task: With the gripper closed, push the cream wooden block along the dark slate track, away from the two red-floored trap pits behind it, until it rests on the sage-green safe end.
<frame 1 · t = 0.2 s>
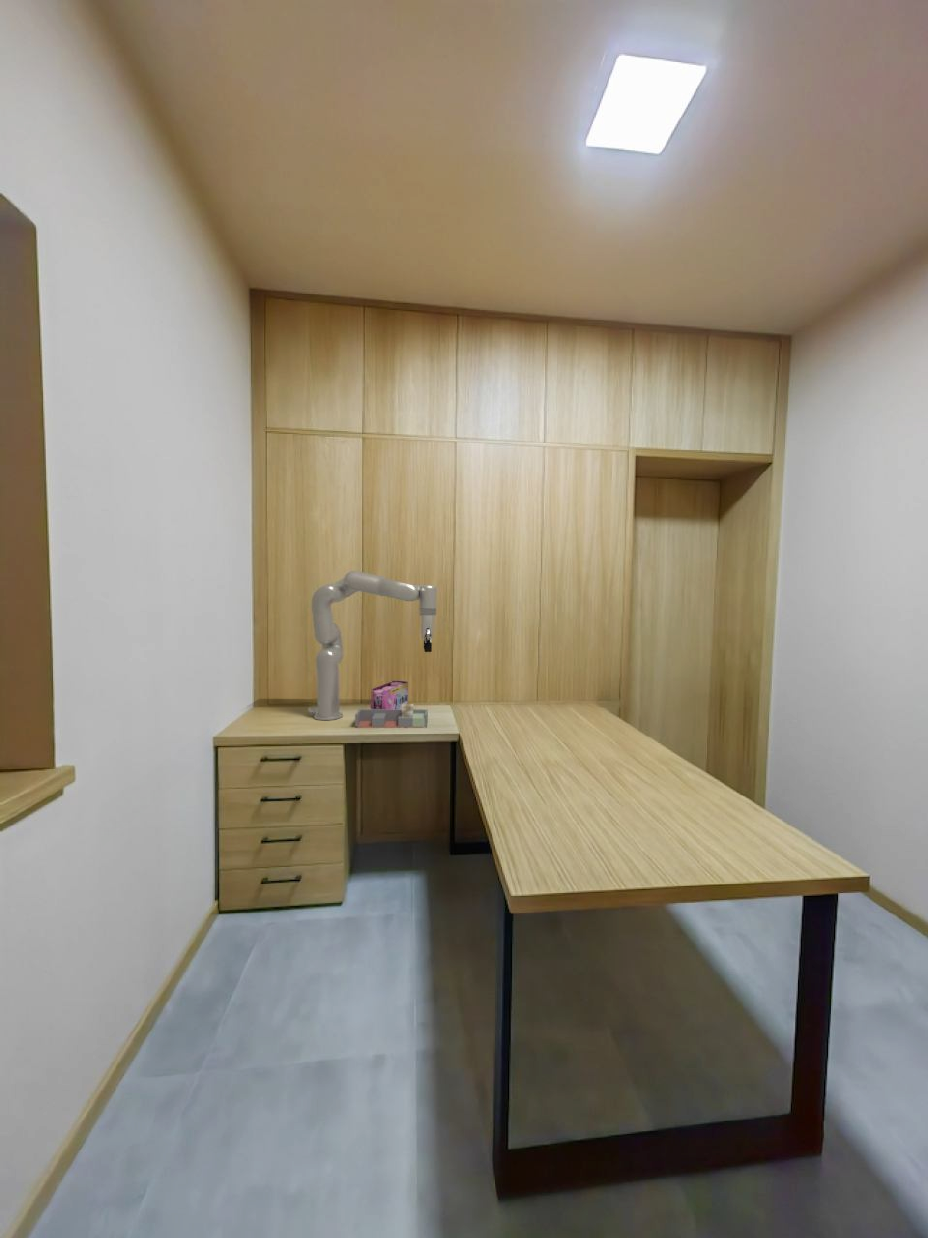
hand: (427, 650, 220), 31 cm above the table, tool pointing down, fingers open, 9 cm apart
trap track: (392, 724, 210), on the table
gum box: (390, 714, 228), on the table
cream block: (407, 715, 210), point 4 cm above the table, touching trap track
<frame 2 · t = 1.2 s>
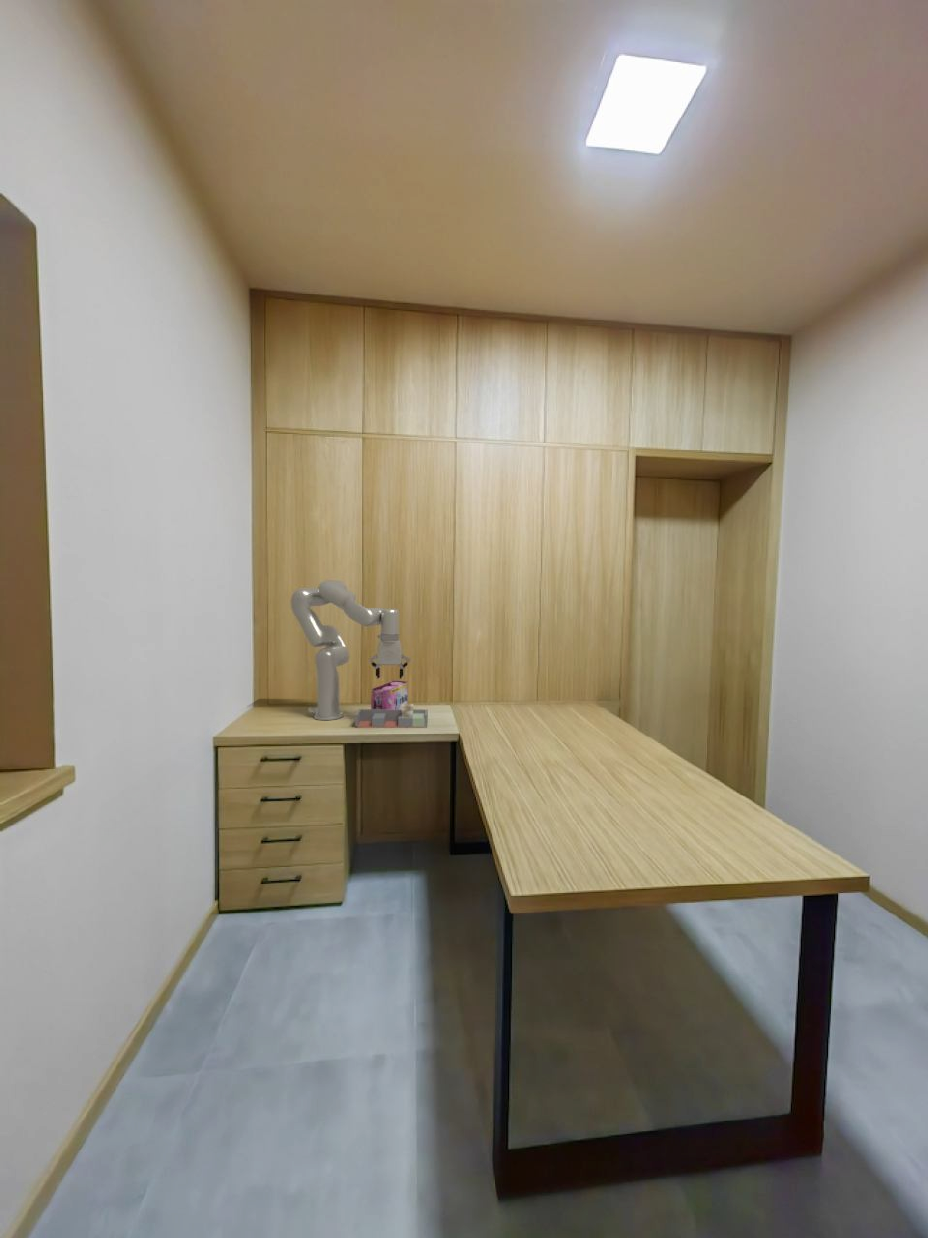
hand: (389, 677, 209), 20 cm above the table, tool pointing down, fingers open, 9 cm apart
nothing on the table moved.
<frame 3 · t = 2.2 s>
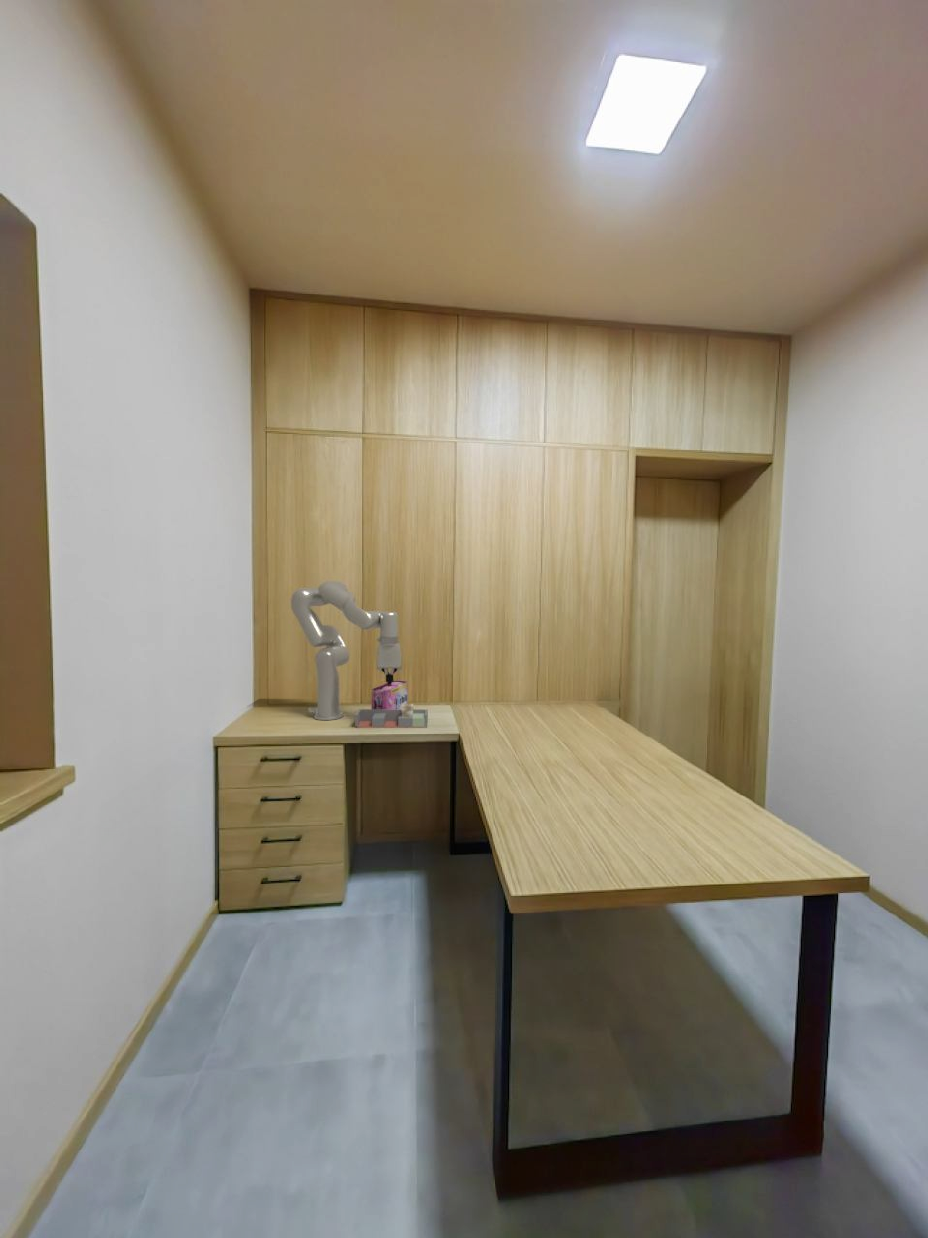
hand: (389, 683, 209), 18 cm above the table, tool pointing down, fingers closed
nothing on the table moved.
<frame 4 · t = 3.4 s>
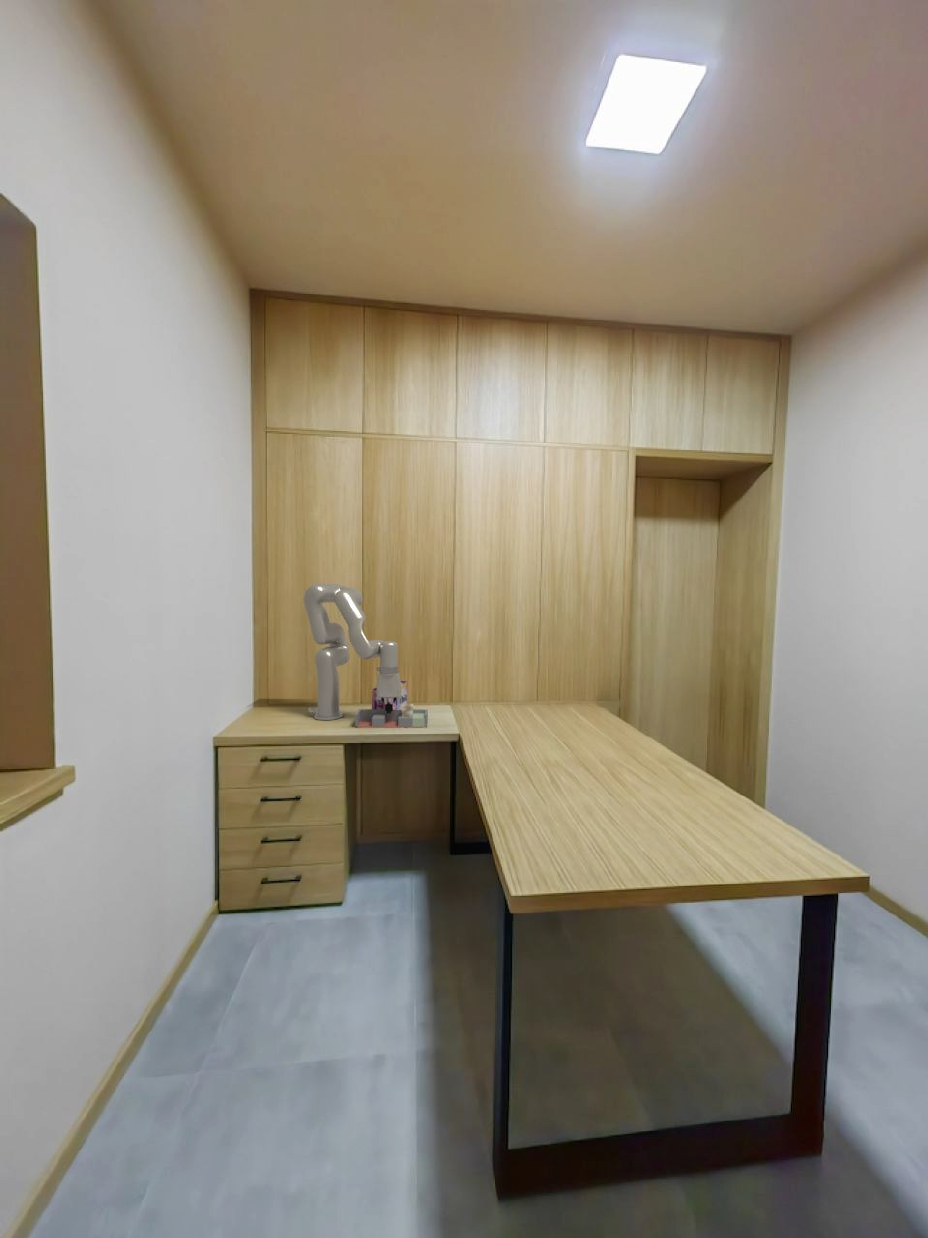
hand: (389, 712, 209), 5 cm above the table, tool pointing down, fingers closed
nothing on the table moved.
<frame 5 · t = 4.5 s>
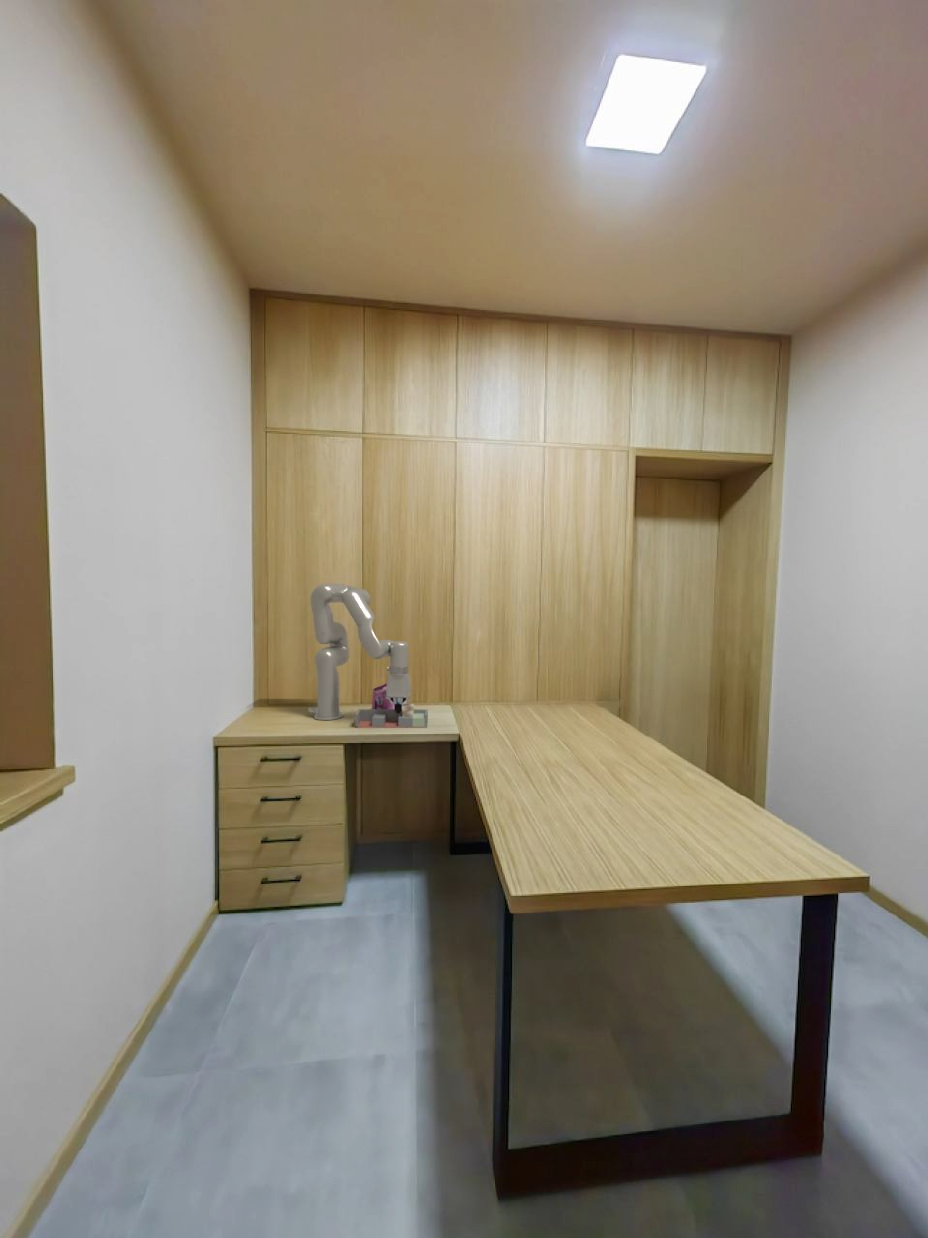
hand: (398, 712, 210), 5 cm above the table, tool pointing down, fingers closed
cream block: (408, 715, 210), point 4 cm above the table, touching gripper, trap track
everything else where it was.
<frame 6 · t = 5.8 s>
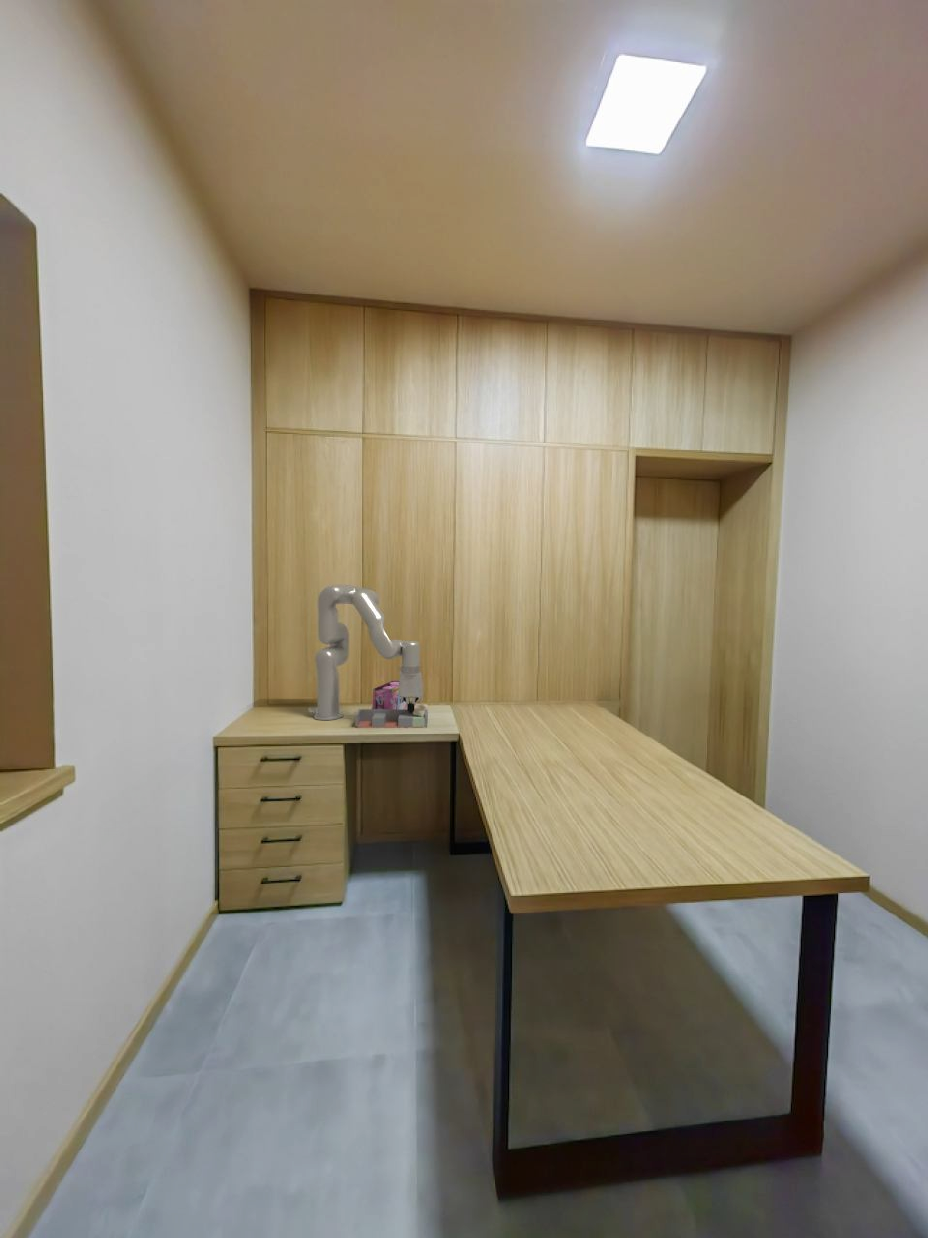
hand: (410, 712, 210), 5 cm above the table, tool pointing down, fingers closed
cream block: (418, 714, 210), point 5 cm above the table, tilted 19°, touching gripper, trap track
everything else where it was.
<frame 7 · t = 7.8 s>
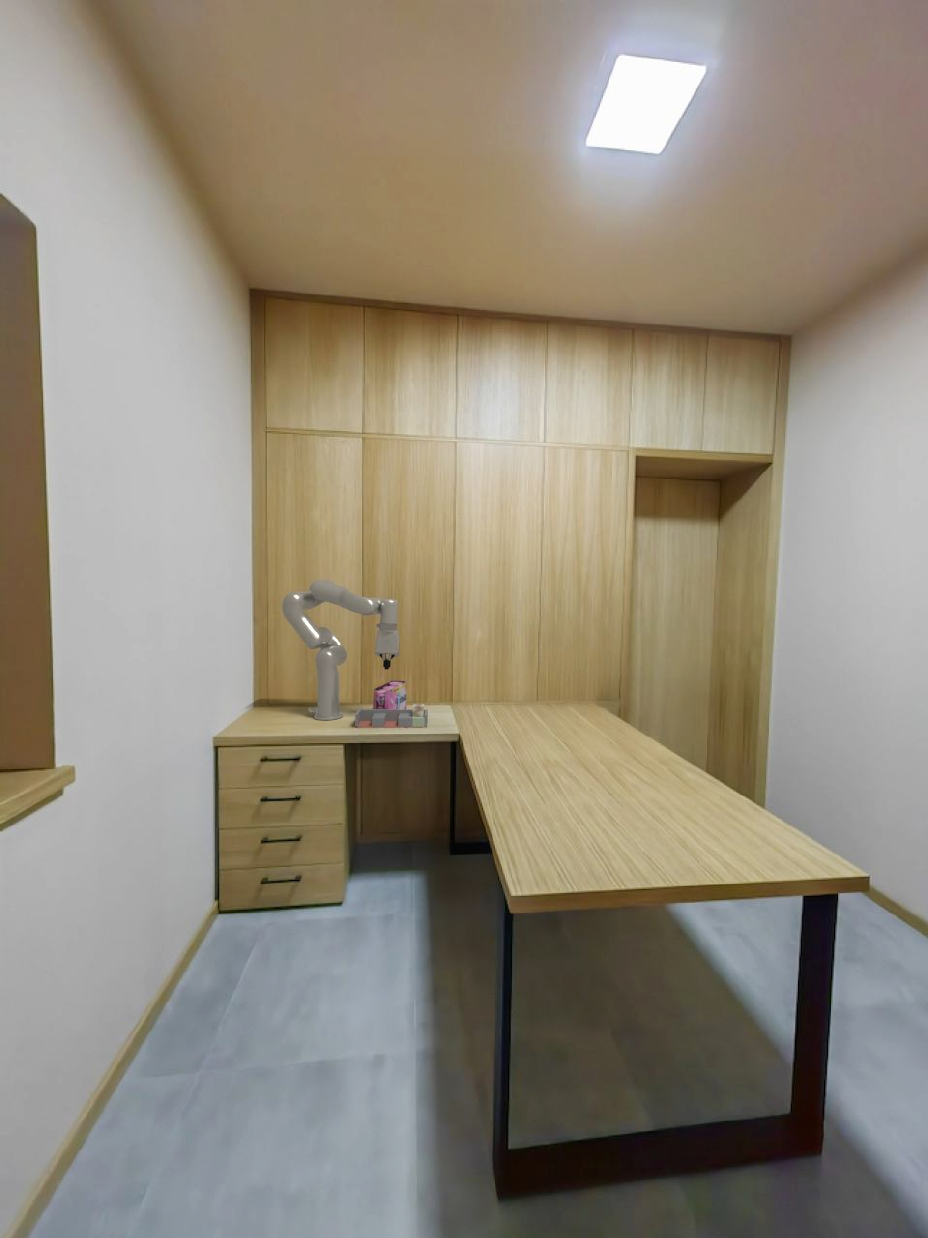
hand: (386, 669, 214), 23 cm above the table, tool pointing down, fingers closed
cream block: (418, 715, 210), point 4 cm above the table, touching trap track
everything else where it was.
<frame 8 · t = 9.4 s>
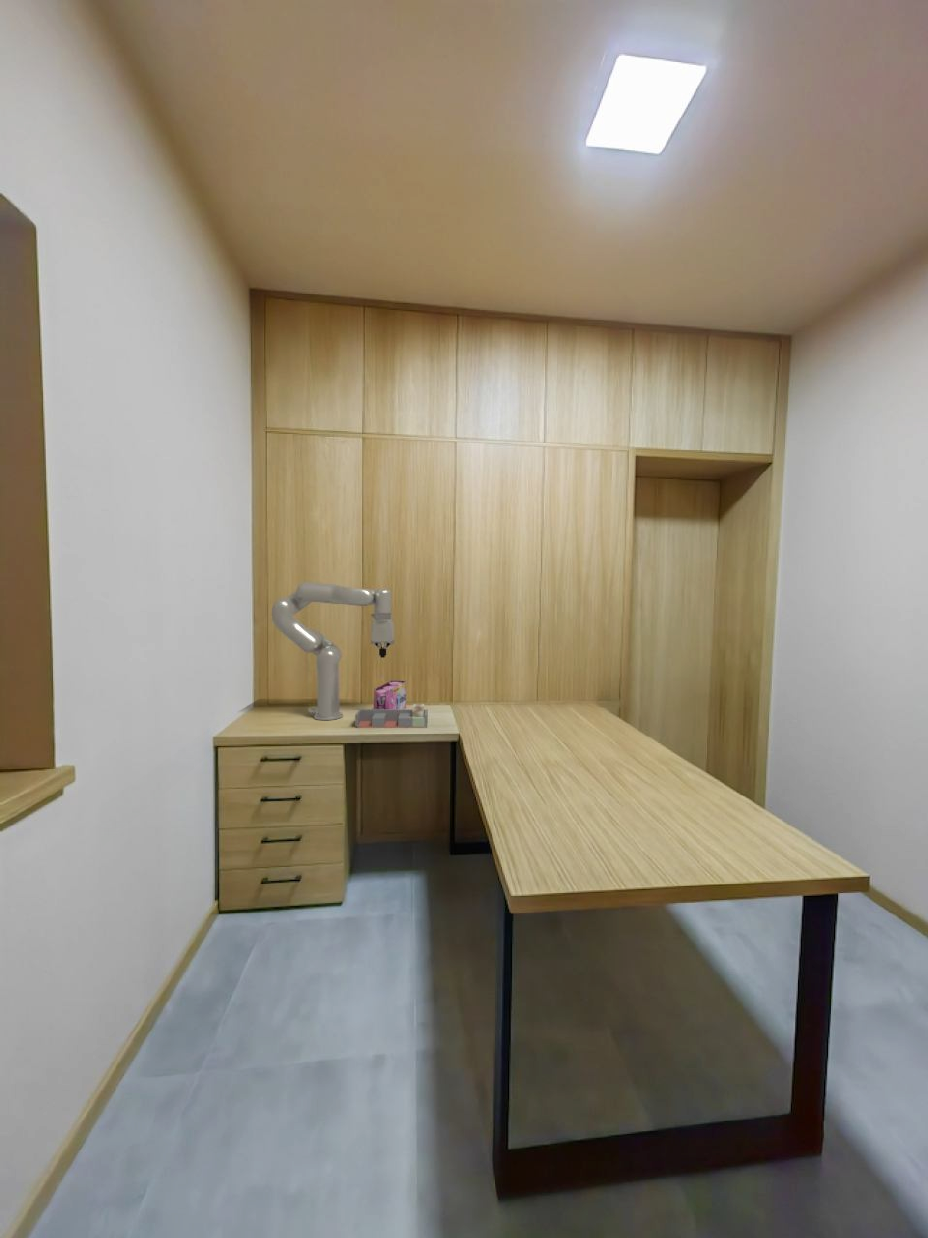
hand: (382, 657, 222), 27 cm above the table, tool pointing down, fingers closed
nothing on the table moved.
at the end: cream block 0.3 cm from the target spot on the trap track, point 4.0 cm above the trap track's base; cream block tilted 0°; the gripper is holding nothing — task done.
